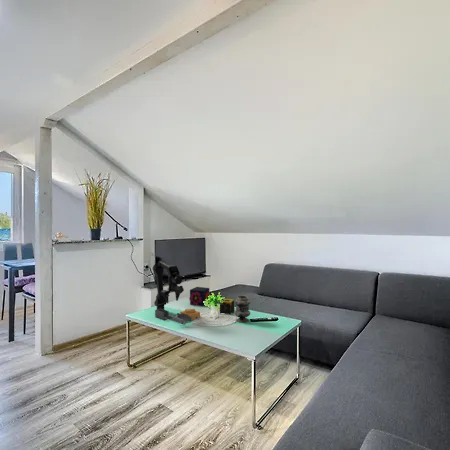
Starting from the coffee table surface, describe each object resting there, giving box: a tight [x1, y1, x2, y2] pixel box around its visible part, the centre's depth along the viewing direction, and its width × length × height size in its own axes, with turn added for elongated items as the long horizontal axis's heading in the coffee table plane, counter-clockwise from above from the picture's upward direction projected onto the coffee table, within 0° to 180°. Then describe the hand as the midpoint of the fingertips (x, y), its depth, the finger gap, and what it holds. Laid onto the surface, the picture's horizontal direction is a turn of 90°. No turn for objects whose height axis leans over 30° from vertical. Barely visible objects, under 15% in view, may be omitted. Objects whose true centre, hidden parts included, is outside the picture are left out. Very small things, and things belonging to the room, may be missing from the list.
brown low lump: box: [179, 307, 201, 320], centre depth 237 cm, size 12×10×6 cm
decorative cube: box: [189, 286, 211, 307], centre depth 276 cm, size 16×16×14 cm
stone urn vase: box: [233, 295, 251, 323], centre depth 227 cm, size 12×12×18 cm
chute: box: [154, 308, 170, 321], centre depth 235 cm, size 11×5×6 cm, turn 48°
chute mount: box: [167, 312, 193, 325], centre depth 230 cm, size 16×10×3 cm, turn 48°
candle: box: [219, 298, 236, 315], centre depth 248 cm, size 10×10×10 cm
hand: (172, 302), depth 233 cm, fingers open, 9 cm apart
